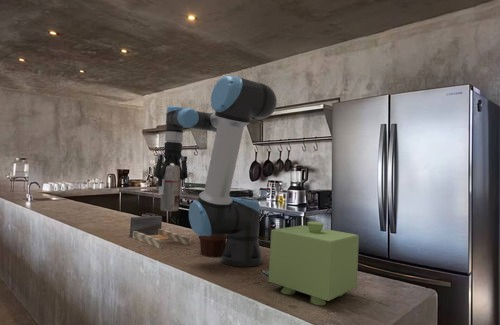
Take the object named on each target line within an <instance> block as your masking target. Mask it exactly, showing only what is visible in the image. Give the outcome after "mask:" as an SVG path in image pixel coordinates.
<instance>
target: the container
mask: <svg viewBox="0 0 500 325" xmlns="http://www.w3.org/2000/svg"><path fill="white" fill-rule="evenodd" d="M306 224H307V225H303V224H302V225H296V226H289V227H282V228H274V229H271V232H270V233H271V234H270V250H269V264H268V265H269V266H268V267H269V268H268V282H270V283H272V284H275V285H278V286H281V287H283V288H282V289H281V290H280V293H282V294H284V295H294V294H295V293H297V292H300V293H303V294H306V295H309V296H310V303H311V304H313V305H316V306H317V305H318V306H324V305H326V304H327V301H328V302H329V301H331V300H333V299H335V298H337V297H342V296H344V294H346V293H347V292H349V291H352V290H353V289H356V288H357V286H358V267H359V265H358V263H359V244H360V243H359V242H360V241H359V238H360V236H359V234H355V233H350V232H344V231H338V230H331V229H326V228H324V223H323V222H321V221H313V220H312V221H308V222H307V223H306ZM296 291H297V292H296Z"/></svg>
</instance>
